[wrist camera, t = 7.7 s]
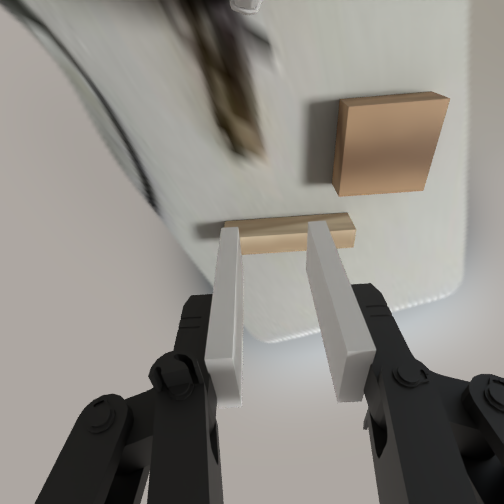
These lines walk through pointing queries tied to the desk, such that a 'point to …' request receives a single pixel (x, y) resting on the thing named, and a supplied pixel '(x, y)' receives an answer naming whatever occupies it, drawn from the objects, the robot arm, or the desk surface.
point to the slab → (386, 142)
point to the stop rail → (290, 232)
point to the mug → (246, 6)
